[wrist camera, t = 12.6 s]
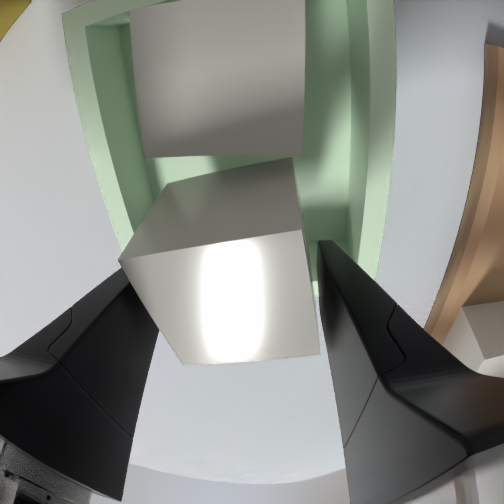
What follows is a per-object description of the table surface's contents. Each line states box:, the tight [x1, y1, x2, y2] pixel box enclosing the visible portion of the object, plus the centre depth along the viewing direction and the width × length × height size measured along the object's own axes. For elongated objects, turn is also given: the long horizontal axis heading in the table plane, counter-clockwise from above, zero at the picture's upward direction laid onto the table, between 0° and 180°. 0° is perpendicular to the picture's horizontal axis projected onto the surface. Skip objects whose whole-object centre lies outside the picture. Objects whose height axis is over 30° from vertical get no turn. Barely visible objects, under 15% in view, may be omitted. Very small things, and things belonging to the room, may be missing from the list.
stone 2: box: [130, 0, 305, 159], centre depth 8 cm, size 4×4×4 cm
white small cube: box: [118, 157, 320, 365], centre depth 9 cm, size 4×4×4 cm
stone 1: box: [442, 301, 504, 378], centre depth 15 cm, size 4×4×4 cm
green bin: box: [62, 0, 396, 296], centre depth 10 cm, size 12×10×3 cm
